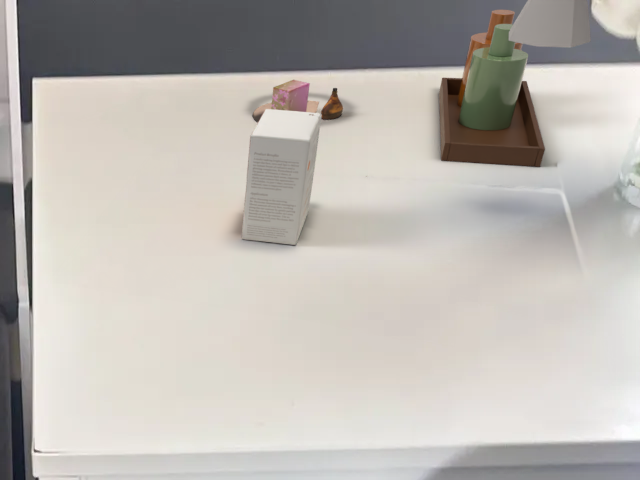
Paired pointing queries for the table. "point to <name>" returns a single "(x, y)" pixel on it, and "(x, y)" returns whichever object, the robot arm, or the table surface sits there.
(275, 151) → the small box
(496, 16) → the amber bottle
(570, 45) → the flask
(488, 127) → the green bottle
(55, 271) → the table surface
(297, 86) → the plate of sweets
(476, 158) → the tray
